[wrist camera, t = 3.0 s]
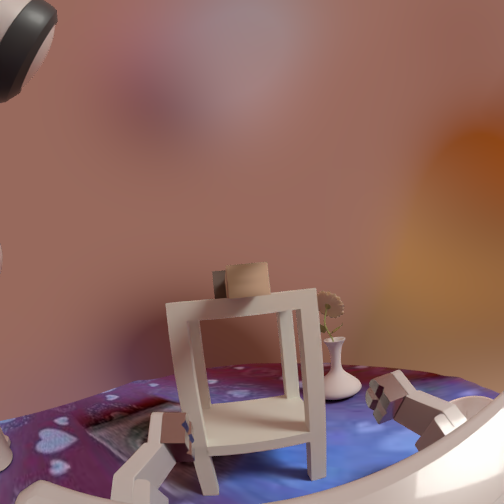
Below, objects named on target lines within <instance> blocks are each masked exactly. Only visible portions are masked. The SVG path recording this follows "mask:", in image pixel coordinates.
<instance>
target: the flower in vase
mask: <svg viewBox="0 0 504 504" xmlns="http://www.w3.org/2000/svg"><path fill="white" fill-rule="evenodd" d="M317 302H318V311H320V312H321V313H322V314H324V315H325V316H324V326H322V325H320V332H323V333H325V331H326V330H327V332H328V334H329V335H330V337H331V338H328V339H325V340H324V342H325V344H326V345H327V347H328V349H329V352H330V356H331V370H330V372H329V373H328V374H327V375H326V376H325V377H324V389H325V399H327V400H339V399H344V398H347V397H350V396H353V395H355V394H356V393H357V392H359V390H360V389H361V383H360V381H359V380H358V379H356V378H355V377H353V376H352V375H350V374H348V373H347V372H345V371H344V370H343V369H342V366H341V347H342V344H343V342H344V340H345V337H333V338H332V336H331V334H330V332H329V331H328V329H327V327H326V324H325V319H326V316H328V315H329V317H331V318H337V316H338V317H340V315H343V313H344V312H343V310H344V305H343V302H341V301H340V297H336V295H335V294H331V292H330V291H328V292H327V293H326V292H324V291H321V292H319V294H317ZM341 326H342V325H341ZM339 328H340V327H338V328H336V329H335V330H333V331H332V333H333V332H335V331H337V330H338V329H339Z"/></svg>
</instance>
